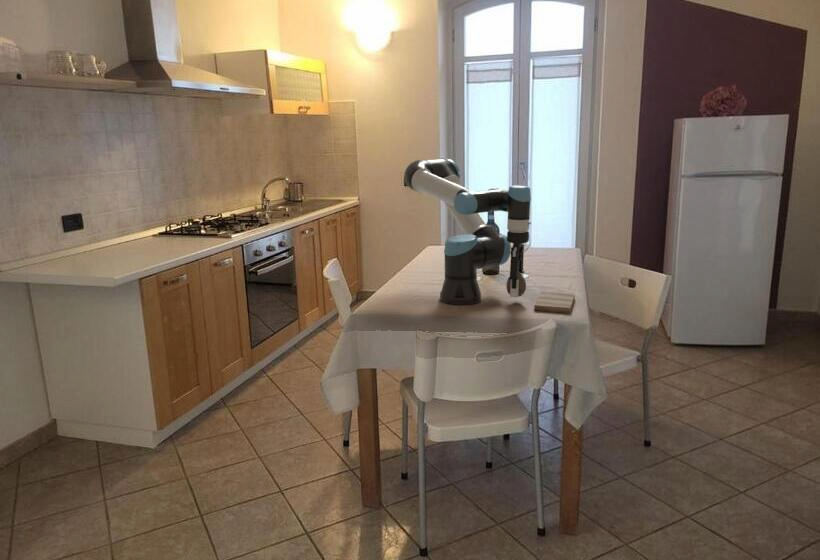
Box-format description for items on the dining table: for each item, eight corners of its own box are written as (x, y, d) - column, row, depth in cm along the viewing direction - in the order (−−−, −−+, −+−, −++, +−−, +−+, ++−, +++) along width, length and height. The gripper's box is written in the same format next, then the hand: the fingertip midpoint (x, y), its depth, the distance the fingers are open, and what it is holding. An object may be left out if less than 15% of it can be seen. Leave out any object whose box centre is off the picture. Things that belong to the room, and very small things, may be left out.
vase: (529, 296, 219) (530, 273, 216) (511, 298, 217) (512, 274, 214) (520, 291, 225) (521, 268, 223) (502, 293, 223) (503, 270, 221)
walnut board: (570, 313, 208) (570, 307, 208) (534, 310, 212) (534, 305, 211) (574, 299, 225) (574, 294, 224) (541, 296, 228) (541, 291, 228)
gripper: (524, 236, 205) (521, 302, 211) (533, 226, 223) (530, 287, 229) (502, 235, 207) (500, 300, 213) (512, 225, 225) (510, 286, 231)
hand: (515, 293), depth 221 cm, fingers closed on vase, 7 cm apart
